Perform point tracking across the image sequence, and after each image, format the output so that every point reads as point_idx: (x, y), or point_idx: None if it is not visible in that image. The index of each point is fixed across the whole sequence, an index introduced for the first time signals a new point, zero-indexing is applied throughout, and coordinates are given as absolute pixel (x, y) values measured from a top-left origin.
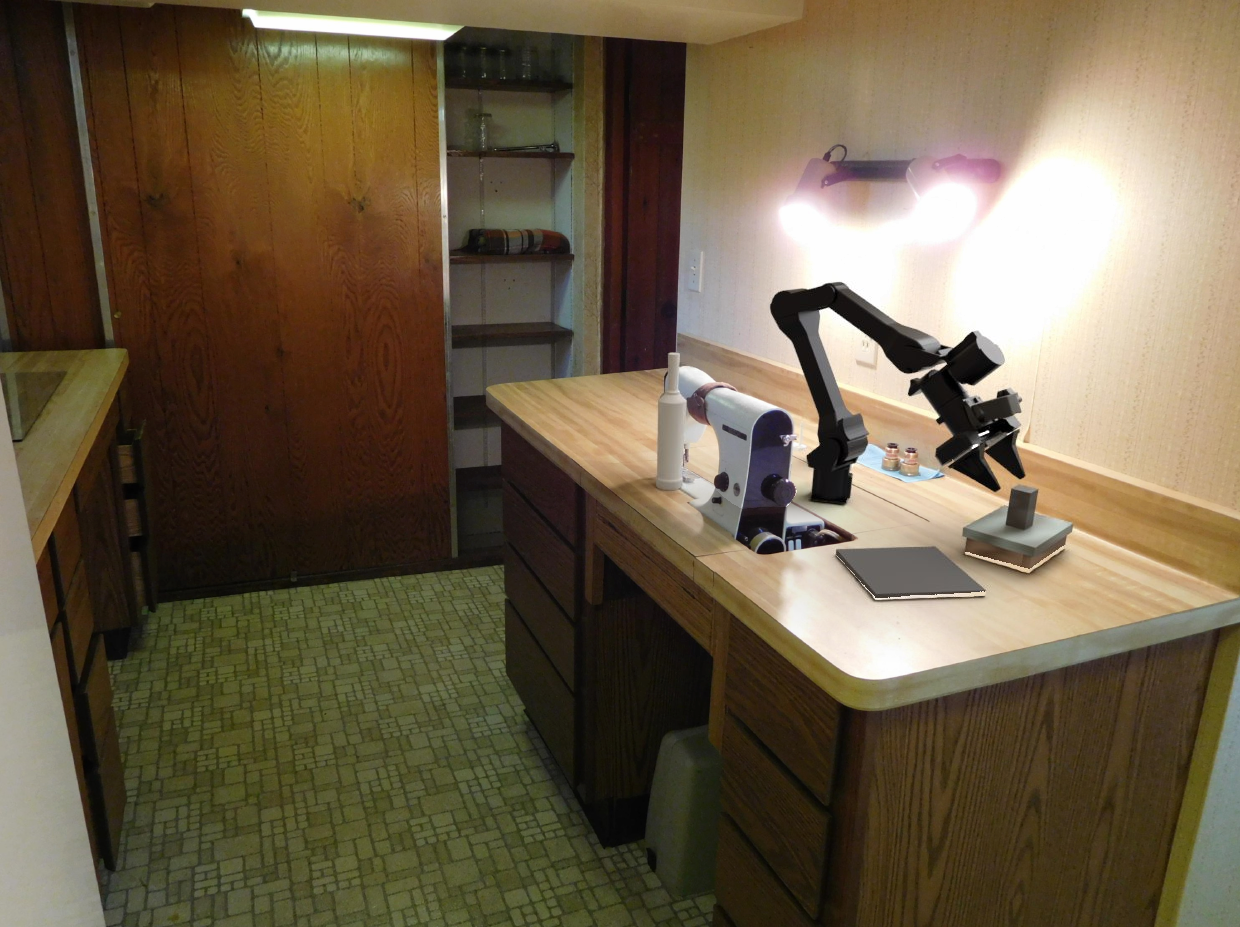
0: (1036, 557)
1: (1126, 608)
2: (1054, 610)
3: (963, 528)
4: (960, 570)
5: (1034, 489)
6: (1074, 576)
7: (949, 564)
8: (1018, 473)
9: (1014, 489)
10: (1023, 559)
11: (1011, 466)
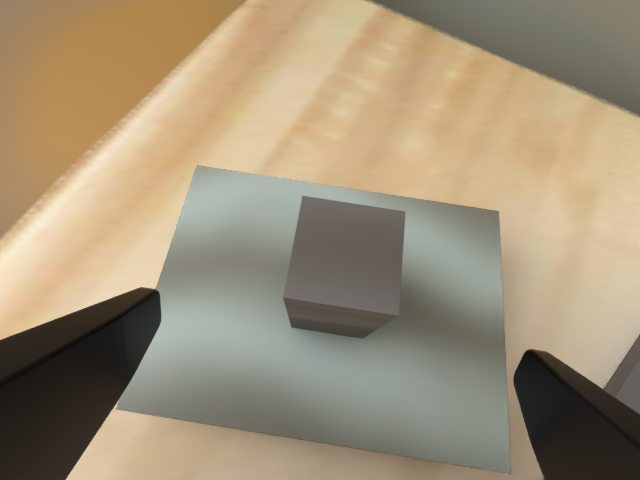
0: None
1: (473, 80)
2: (593, 170)
3: (508, 471)
4: (630, 391)
5: (327, 209)
6: (387, 169)
7: None
8: (141, 332)
9: (397, 296)
10: None
11: (91, 397)
